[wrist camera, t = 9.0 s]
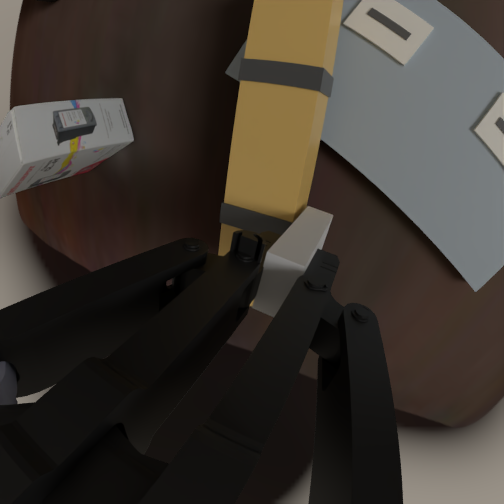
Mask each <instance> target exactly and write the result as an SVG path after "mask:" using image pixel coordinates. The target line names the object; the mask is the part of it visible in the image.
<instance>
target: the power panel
mask: <svg viewBox="0 0 504 504" xmlns="http://www.w3.org/2000/svg"><path fill="white" fill-rule="evenodd" d="M246 44H247V40H246V42H245V43H244V44H243V46H242V47H241V49H240V50H239V52H238V53H237V55H236V56H235V58H234V59H233V61H232V63H231V64H230V66H229V67H228V69H227V70H226V72H225V73H226V74H227V75H229V76H231V77H232V78H234V79H236V80H237V81H239V82H240V81H241V80H238V77H239V70H240V64H241V58H244V56H245V50H246ZM332 77H333V78H334V80H333V86H332V92H331V97H328V102H327V108H326V113H325V118H324V124H323V129H322V134H321V140H323V141H324V142H325V143H326V144H328V145H329V146H330V147H331V148H333V149H334V150H335V151H336V152H338V153H339V154H340V155H341V156H342V157H344V158H345V159H346V160H347V161H348V162H350V163H351V164H352V165H353V166H354V167H355V168H357V169H358V170H359V171H360V172H361V173H362V174H364V175H365V176H366V177H367V178H368V179H369V180H370V181H371V182H372V183H374V184H375V185H376V186H377V187H378V188H379V189H380V190H381V191H382V192H383V193H384V194H386V195H387V196H388V197H389V198H390V199H391V200H392V201H393V202H394V203H395V204H396V205H397V206H398V207H399V208H400V209H401V210H402V211H403V212H404V213H405V214H406V215H407V216H408V217H409V218H410V219H411V220H412V221H413V222H414V223H415V224H416V225H417V226H418V227H419V228H420V229H421V230H422V231H423V232H424V233H425V234H426V235H427V236H428V237H429V239H430V240H431V241H432V242H433V243H434V244H435V245H436V246H437V247H438V248H439V249H440V251H441V252H442V253H443V254H444V255H445V256H446V257H447V258H448V260H449V261H450V262H451V263H452V264H453V265H454V267H455V268H456V269H457V270H458V271H459V272H460V274H461V275H462V276H463V277H464V278H465V280H466V281H467V282H468V283H469V285H470V286H471V287H472V288H473V290H474V291H475V292H476V291H477V290H478V289H479V288H481V287H482V286H483V285H484V284H485V283H486V282H487V281H488V280H489V279H490V278H491V277H492V276H493V275H494V274H495V273H496V272H497V271H498V270H499V269H500V268H501V267H502V266H503V265H504V59H503V58H502V57H501V56H500V55H499V54H498V53H497V52H496V51H495V50H494V49H493V48H492V47H491V46H490V45H489V44H488V43H487V42H486V41H485V40H484V39H483V38H482V37H481V36H480V35H479V34H478V33H476V32H475V31H474V30H473V29H472V28H471V27H470V26H468V25H467V24H466V23H465V22H464V21H463V20H461V19H460V18H459V17H458V16H456V15H455V14H454V13H453V12H451V11H450V10H449V9H447V8H446V7H445V6H443V5H442V4H441V3H439V2H438V1H437V0H343V8H342V15H341V22H340V29H339V36H338V43H337V49H336V55H335V62H334V68H333V74H332Z"/></svg>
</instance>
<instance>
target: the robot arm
mask: <svg viewBox="0 0 504 504" xmlns="http://www.w3.org/2000/svg"><path fill="white" fill-rule="evenodd" d="M37 1H46V2H53V1H56V0H37ZM332 218H333V215H331V214H329V213H326V212H323V211H321V210H318V209H315V208H312V207H310V206H308V207H307V208H306V209H305V210H304V211H303V212H302V214H301V215H300V216H299V217H298V218H297V219H296V220H295V221H294V222H293V224H292V225H291V226H290V227H289V228H288V229H287V230H286V231H285V232H284V233H283V235H279V234H277V233H274V232H271V231H265V232H261V233H260V234H258V233H256V232H252V231H248V230H238V231H235V232H233V236H232V241H231V247H230V251H229V252H228V253H227V254H225V255H224V256H220V255H215V254H210V253H208V245H207V244H206V243H205V242H203V241H201V240H199V239H195V238H184V239H180V240H177V241H174V242H171V243H169V244H166V245H163V246H160V247H157V248H155V249H152V250H149V251H147V252H144V253H141V254H138V255H136V256H133V257H130V258H128V259H125V260H122V261H120V262H117V263H114V264H112V265H109V266H107V267H104V268H101V269H99V270H96V271H94V272H91V273H89V274H86V275H83V276H81V277H78V278H76V279H73V280H71V281H68V282H66V283H63V284H61V285H58V286H56V287H53V288H51V289H49V290H46V291H44V292H41V293H39V294H36V295H34V296H32V297H29V298H27V299H24V300H22V301H20V302H17V303H15V304H13V305H11V306H8V307H6V308H3V309H1V310H0V504H235V502H236V500H237V499H238V497H239V495H240V493H241V492H242V490H243V488H244V486H245V484H246V483H247V481H248V479H249V477H250V475H251V474H252V472H253V470H254V468H255V466H256V464H257V462H258V460H259V458H260V456H261V452H262V449H263V447H264V445H265V443H266V441H267V439H268V437H269V435H270V433H271V431H272V429H273V427H274V425H275V423H276V421H277V419H278V417H279V414H280V413H281V410H282V408H283V406H284V404H285V402H286V400H287V397H288V395H289V393H290V391H291V388H292V386H293V384H294V382H295V379H296V377H297V375H298V373H299V370H300V368H301V365H302V363H303V361H304V358H305V356H306V354H307V351H308V349H309V348H310V349H311V350H313V351H314V352H316V353H317V354H318V355H319V358H318V379H317V406H316V424H315V439H314V453H313V465H312V476H311V486H310V496H309V504H403V492H402V475H401V463H400V452H399V442H398V433H397V425H396V417H395V411H394V404H393V397H392V391H391V385H390V379H389V374H388V368H387V363H386V358H385V353H384V348H383V343H382V339H381V334H380V330H379V325H378V321H377V318H376V316H375V314H374V313H373V312H372V311H371V310H370V309H369V308H368V307H366V306H364V305H361V304H357V303H350V304H347V305H346V306H345V307H343V306H342V305H340V304H339V303H338V302H336V301H335V300H334V298H333V297H332V295H331V292H330V290H331V286H332V283H333V280H334V278H335V275H336V272H337V269H338V266H339V263H340V262H339V259H338V257H337V256H336V255H333V254H331V253H328V252H325V251H323V250H321V249H322V247H323V244H324V241H325V238H326V235H327V232H328V229H329V226H330V223H331V221H332ZM170 279H172V284H171V285H169V286H166V281H167V280H170ZM253 300H254V302H253V306H252V308H254V309H256V310H258V311H261V312H263V313H265V314H268V315H270V316H272V317H274V318H273V320H272V322H271V323H270V325H269V326H268V328H267V330H266V331H265V333H264V334H263V336H262V338H261V339H260V341H259V342H258V344H257V346H256V347H255V349H254V350H253V352H252V353H251V355H250V357H249V358H248V360H247V361H246V363H245V364H244V366H243V367H242V369H241V371H240V372H239V374H238V375H237V377H236V378H235V380H234V381H233V383H232V384H231V386H230V387H229V389H228V390H227V392H226V393H225V395H224V396H223V398H222V399H221V401H220V402H219V404H218V405H217V407H216V408H215V409H214V411H213V412H212V414H211V415H210V417H209V418H208V419H207V421H206V422H205V423H204V424H202V425H199V426H198V427H197V428H196V429H195V430H194V431H193V433H192V434H191V435H190V437H189V438H188V439H187V441H186V442H185V443H184V445H183V446H182V447H181V449H180V450H179V452H178V453H177V454H176V456H175V457H174V458H173V460H172V461H171V462H170V464H168V463H165V462H162V461H159V460H156V459H154V458H151V457H148V456H145V455H144V453H145V451H146V450H147V448H148V446H149V444H150V442H151V439H152V437H153V435H154V433H155V432H156V431H157V429H158V428H159V427H160V426H161V425H162V423H163V422H164V421H165V420H166V418H167V417H168V416H169V415H170V413H171V412H172V411H173V410H174V408H175V407H176V406H177V405H178V403H179V402H180V401H181V400H182V398H183V397H184V396H185V395H186V393H187V392H188V391H189V390H190V388H191V387H192V386H193V384H194V383H195V382H196V381H197V379H198V378H199V377H200V375H201V374H202V373H203V372H204V370H205V369H206V368H207V366H208V365H209V364H210V363H211V361H212V360H213V359H214V357H215V356H216V355H217V353H218V352H219V351H220V350H221V348H222V347H223V346H224V344H225V343H226V342H227V340H228V339H229V338H230V336H231V335H232V334H233V332H234V331H235V330H236V328H237V327H238V326H239V324H240V323H241V322H242V320H243V319H244V318H245V316H246V315H247V313H248V310H249V306H250V304H251V302H252V301H253ZM110 354H111V355H110ZM109 355H110V356H109ZM107 356H108V357H107ZM105 357H107V358H105ZM103 358H105V359H103ZM56 383H57V384H56ZM54 384H56V385H55V386H53V385H54ZM51 386H53V387H52V388H51V389H50V390H49V391H48V392H47V393H45V394H44V395H43V396H42V397H41V398H40V399H39V400H37V401H36V402H34V403H23V404H17V400H16V398H17V397H23V396H28V395H30V394H34V393H37V392H40V391H42V390H44V389H46V388H49V387H51Z"/></svg>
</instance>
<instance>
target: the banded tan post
mask: <svg viewBox="0 0 504 504" xmlns="http://www.w3.org/2000/svg"><path fill="white" fill-rule="evenodd" d="M342 8H343V0H254V4H253V10H252V15H251V21H250V26H249V32H248V38H247V44H246V50H245V56H244V58H241V64H240V70H239V77H238V80H241V81H240V88H239V94H238V101H237V108H236V115H235V122H234V129H233V136H232V143H231V151H230V158H229V166H228V174H227V182H226V190H225V198H224V202H222V203H221V212H220V221H219V222H220V223H222V224H221V233H220V243H219V252H218V255H220V256H224V255H225V254H227V253H228V252H229V251H230V247H231V241H232V236H233V232H235V231H238V230H248V231H252V232H256V233H258V234H260V233H261V232H265V231H271V232H274V233H277V234H279V235H283V233H284V232H285V231H286V230H287V229H288V228H289V227H290V226H291V225H292V224H293V222H294V221H295V220H296V219H297V218H298V217H299V216H300V215H301V214H302V212H303V211H304V210H305V209H306V208H307V207H306V206H307V201H308V197H309V192H310V188H311V183H312V178H313V174H314V169H315V164H316V159H317V154H318V149H319V144H320V139H321V134H322V129H323V124H324V118H325V113H326V108H327V102H328V97H331V92H332V86H333V80H334V78H333V77H332V74H333V68H334V62H335V55H336V49H337V43H338V36H339V29H340V22H341V15H342ZM253 302H254V300H253V301H252V302H251V304H250V306H253Z"/></svg>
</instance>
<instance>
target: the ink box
mask: <svg viewBox="0 0 504 504" xmlns="http://www.w3.org/2000/svg"><path fill="white" fill-rule="evenodd" d="M133 141H134V138H133V134H132V129H131V126H130V123H129V120H128V117H127V113H126V110H125V106H124V103H123V99H122V98H102V99H83V100H69V101H57V102H47V103H38V104H30V105H22V106H16V107H14V108H13V109H12V110H11V111H9V112H8V113H7V115H6V117H5V119H4V121H3V122H2V124H1V126H0V198H2V197H5V196H8V195H11V194H14V193H17V192H19V191H22V190H26V189H29V188H32V187H35V186H38V185H41V184H45V183H48V182H52V181H55V180H59V179H63V178H66V177H70V176H74V175H78V174H82V173H86V172H89V171H90V170H92V169H93V168H95V167H96V166H97V165H99V164H100V163H102V162H103V161H104V160H106V159H107V158H109V157H110V156H112V155H113V154H115V153H116V152H118V151H119V150H121V149H122V148H124V147H125V146H127V145H128V144H130V143H131V142H133Z"/></svg>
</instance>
